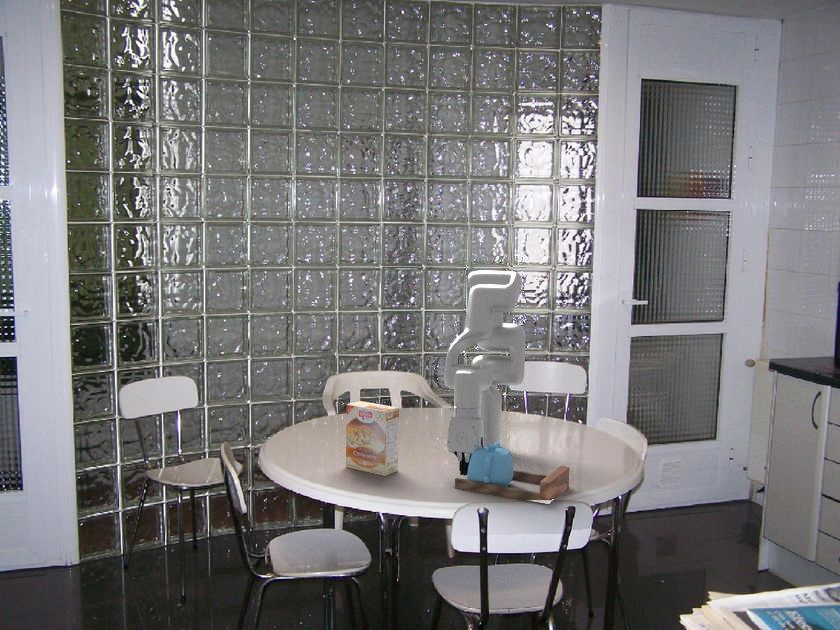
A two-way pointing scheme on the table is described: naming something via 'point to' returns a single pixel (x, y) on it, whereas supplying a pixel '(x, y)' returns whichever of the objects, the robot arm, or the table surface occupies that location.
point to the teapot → (491, 465)
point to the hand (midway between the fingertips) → (464, 474)
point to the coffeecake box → (372, 437)
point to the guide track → (549, 483)
